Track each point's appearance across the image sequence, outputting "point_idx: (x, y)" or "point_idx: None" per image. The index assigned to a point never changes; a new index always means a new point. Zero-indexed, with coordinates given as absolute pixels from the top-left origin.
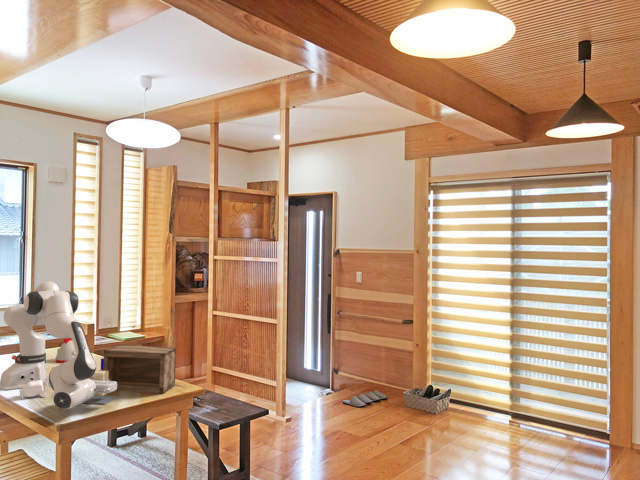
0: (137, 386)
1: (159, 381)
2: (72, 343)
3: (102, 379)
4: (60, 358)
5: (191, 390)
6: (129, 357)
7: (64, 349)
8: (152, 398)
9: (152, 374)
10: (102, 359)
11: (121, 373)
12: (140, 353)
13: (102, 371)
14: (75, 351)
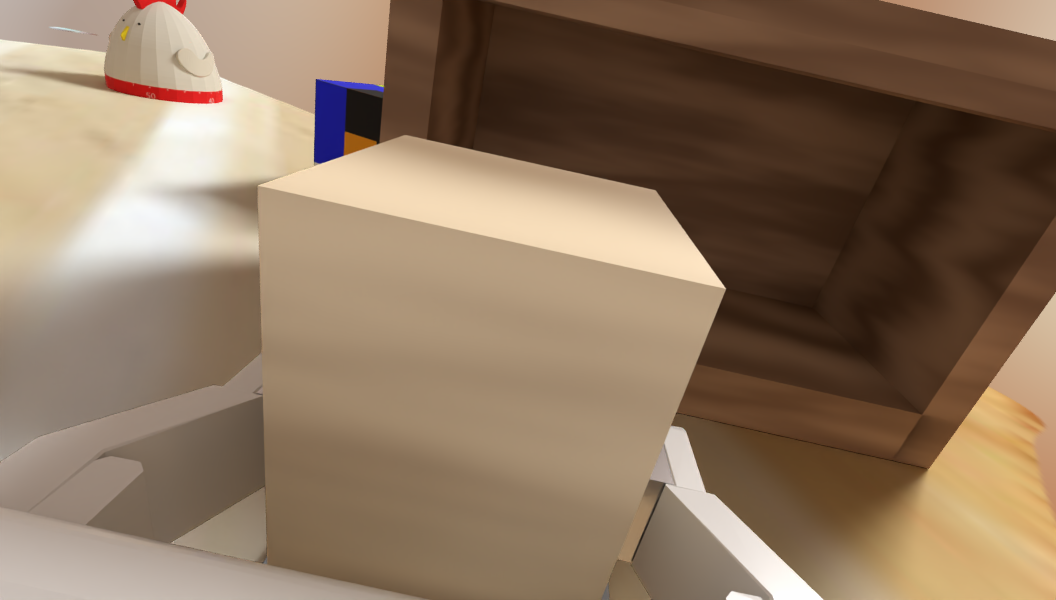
0: (708, 370)
1: (770, 311)
2: (171, 16)
3: (617, 498)
4: (120, 71)
5: (1002, 415)
6: (557, 90)
7: (134, 33)
8: (1001, 595)
9: (702, 248)
10: (326, 84)
11: None
12: (884, 22)
13: (552, 190)
14: (187, 54)
